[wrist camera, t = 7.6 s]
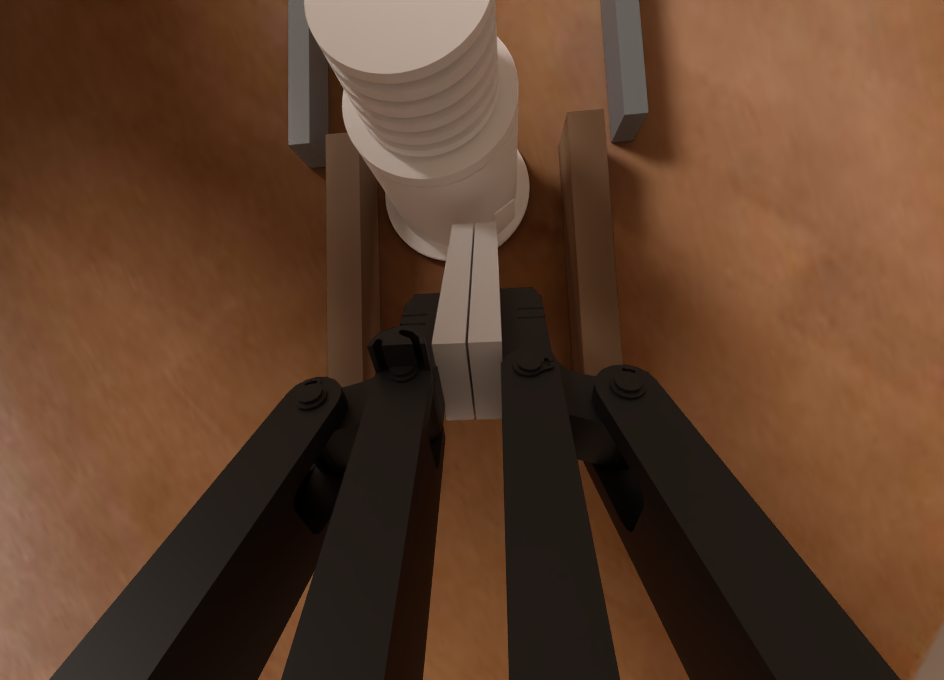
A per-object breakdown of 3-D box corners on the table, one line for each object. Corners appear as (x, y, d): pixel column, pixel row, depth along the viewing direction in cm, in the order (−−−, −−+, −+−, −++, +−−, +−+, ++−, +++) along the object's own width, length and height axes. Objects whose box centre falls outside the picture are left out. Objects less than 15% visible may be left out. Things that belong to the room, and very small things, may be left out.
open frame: (309, 168, 19) (288, 144, 17) (308, -55, 21) (288, -101, 19) (632, 140, 18) (648, 112, 16) (613, -94, 19) (626, -147, 17)
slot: (352, 447, 18) (328, 459, 16) (348, 164, 19) (325, 134, 17) (611, 440, 17) (629, 451, 15) (590, 144, 18) (603, 108, 16)
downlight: (565, 210, 18) (627, 1, 8) (449, 300, 18) (374, 199, 8) (465, 96, 19) (415, -202, 10) (356, 180, 20) (197, -30, 10)
